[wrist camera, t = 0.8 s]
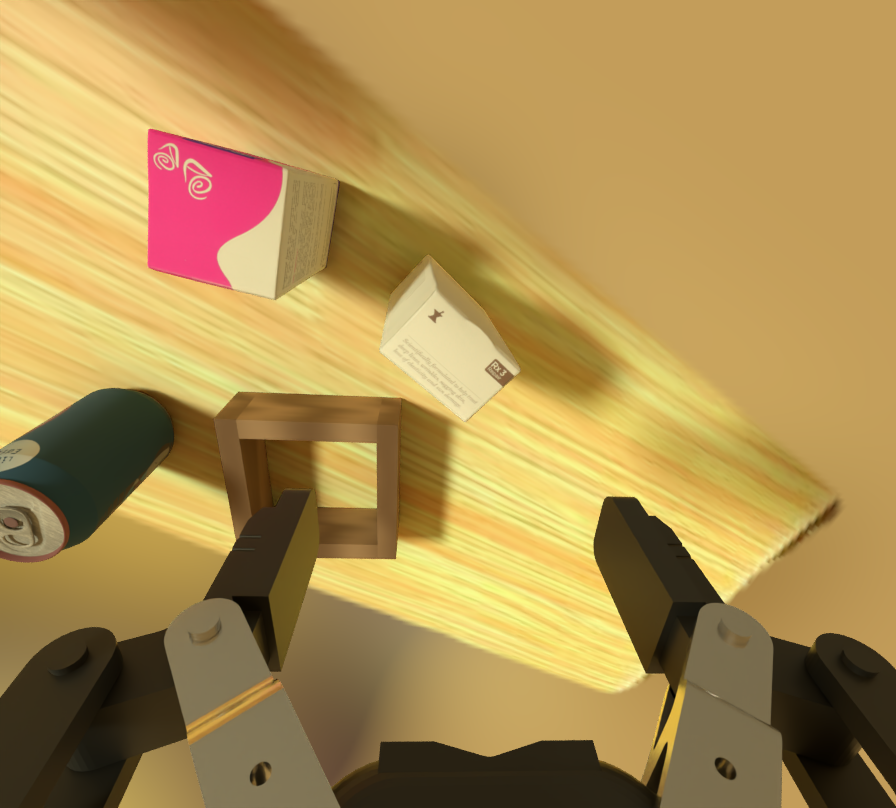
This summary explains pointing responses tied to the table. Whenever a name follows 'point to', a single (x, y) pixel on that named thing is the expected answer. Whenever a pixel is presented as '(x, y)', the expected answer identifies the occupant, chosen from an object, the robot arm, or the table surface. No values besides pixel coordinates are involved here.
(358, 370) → the table surface
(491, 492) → the table surface
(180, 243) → the supplement box
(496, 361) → the skincare box
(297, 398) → the brown wooden square frame
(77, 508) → the soda can
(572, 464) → the table surface
